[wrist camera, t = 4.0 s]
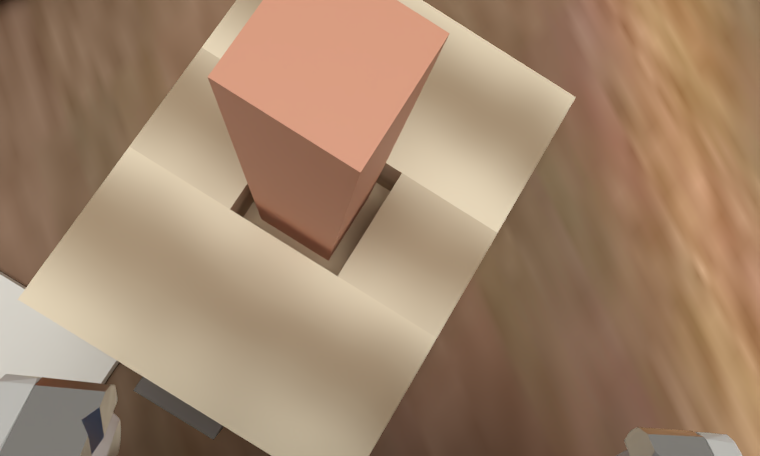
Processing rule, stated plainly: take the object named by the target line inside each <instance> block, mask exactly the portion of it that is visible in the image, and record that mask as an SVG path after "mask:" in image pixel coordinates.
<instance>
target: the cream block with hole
mask: <svg viewBox="0 0 760 456" xmlns="http://www.w3.org/2000/svg"><path fill="white" fill-rule="evenodd" d="M262 1H263V0H236V2H235V3H234V4H233V6H232V7H231V8H230V10H229V11H228V12H227V14H226V15H225V17H224V18H223V19H222V21H221V22H220V23H219V25H218V26H217V27H216V29H215V30H214V32H213V33H212V34H211V36H210V37H209V38H208V40H207V41H206V43H205V44H204V45H203V47H202V48H201V49H200V51H199V52H198V53H197V55H196V56H195V58H194V59H193V60H192V62H191V63H190V64H189V66H188V67H187V69H186V70H185V71H184V73H183V74H182V75H181V77H180V78H179V79H178V81H177V82H176V84H175V85H174V86H173V88H172V89H171V90H170V92H169V93H168V94H167V96H166V97H165V99H164V100H163V101H162V103H161V104H160V105H159V107H158V108H157V110H156V111H155V112H154V114H153V115H152V116H151V118H150V119H149V120H148V122H147V123H146V125H145V126H144V127H143V129H142V130H141V131H140V133H139V134H138V136H137V137H136V138H135V140H134V141H133V142H132V144H131V145H130V146H129V148H128V149H127V151H126V152H125V153H124V155H123V156H122V157H121V159H120V160H119V161H118V163H117V164H116V166H115V167H114V168H113V170H112V171H111V172H110V174H109V175H108V177H107V178H106V179H105V181H104V182H103V183H102V185H101V186H100V187H99V189H98V190H97V192H96V193H95V194H94V196H93V197H92V198H91V200H90V201H89V203H88V204H87V205H86V207H85V208H84V209H83V211H82V212H81V213H80V215H79V216H78V218H77V219H76V220H75V222H74V223H73V224H72V226H71V227H70V228H69V230H68V231H67V233H66V234H65V235H64V237H63V238H62V239H61V241H60V242H59V244H58V245H57V246H56V248H55V249H54V250H53V252H52V253H51V254H50V256H49V257H48V259H47V260H46V261H45V263H44V264H43V265H42V267H41V268H40V270H39V271H38V272H37V274H36V275H35V276H34V278H33V279H32V280H31V282H30V283H29V285H28V286H27V287H26V289H25V290H24V291H23V293H22V294H21V295H20V297H19V298H18V300H19V301H21V302H23V303H24V304H26V305H27V306H29V307H31V308H32V309H34V310H36V311H37V312H39V313H40V314H42V315H44V316H45V317H47V318H49V319H50V320H52V321H53V322H55V323H57V324H58V325H60V326H62V327H63V328H65V329H66V330H68V331H70V332H71V333H73V334H75V335H76V336H78V337H79V338H81V339H83V340H84V341H86V342H88V343H89V344H91V345H92V346H94V347H96V348H97V349H99V350H101V351H102V352H104V353H105V354H107V355H109V356H110V357H112V358H114V359H115V360H117V361H118V362H120V363H122V364H123V365H125V366H127V367H128V368H130V369H131V370H133V371H135V372H136V373H138V374H140V375H141V376H143V377H142V378H141V380H140V381H139V383H138V384H137V386H136V387H135V389H134V390H133V391H135V392H137V393H138V394H140V395H142V396H143V397H145V398H146V399H148V400H150V401H151V402H153V403H155V404H156V405H158V406H159V407H161V408H163V409H164V410H166V411H168V412H169V413H171V414H172V415H174V416H176V417H177V418H179V419H181V420H182V421H184V422H185V423H187V424H189V425H190V426H192V427H194V428H195V429H197V430H198V431H200V432H202V433H203V434H205V435H207V436H208V437H210V438H211V439H213V440H214V438H215V437H216V436H217V435H218V433H219V432H220V431H221V430H222V428H223V427H226V428H227V429H229V430H231V431H232V432H234V433H235V434H237V435H239V436H240V437H242V438H244V439H245V440H247V441H248V442H250V443H252V444H253V445H255V446H257V447H258V448H260V449H261V450H263V451H265V452H266V453H268V454H270V455H271V456H369V455H370V453H371V451H372V450H373V448H374V446H375V444H376V443H377V441H378V439H379V438H380V436H381V434H382V432H383V431H384V429H385V427H386V425H387V424H388V422H389V420H390V418H391V417H392V415H393V413H394V412H395V410H396V408H397V406H398V405H399V403H400V401H401V399H402V398H403V396H404V394H405V392H406V391H407V389H408V387H409V385H410V384H411V382H412V380H413V379H414V377H415V375H416V373H417V372H418V370H419V368H420V366H421V365H422V363H423V361H424V359H425V358H426V356H427V354H428V353H429V351H430V349H431V347H432V346H433V344H434V342H435V340H436V339H437V337H438V335H439V333H440V332H441V330H442V328H443V327H444V325H445V323H446V321H447V320H448V318H449V316H450V314H451V313H452V311H453V309H454V307H455V306H456V304H457V302H458V301H459V299H460V297H461V295H462V294H463V292H464V290H465V288H466V287H467V285H468V283H469V281H470V280H471V278H472V276H473V274H474V273H475V271H476V269H477V268H478V266H479V264H480V262H481V261H482V259H483V257H484V255H485V254H486V252H487V250H488V248H489V247H490V245H491V243H492V242H493V240H494V238H495V236H496V235H497V233H498V231H499V229H500V228H501V226H502V224H503V222H504V221H505V219H506V217H507V216H508V214H509V212H510V210H511V209H512V207H513V205H514V203H515V202H516V200H517V198H518V196H519V195H520V193H521V191H522V190H523V188H524V186H525V184H526V183H527V181H528V179H529V177H530V176H531V174H532V172H533V170H534V169H535V167H536V165H537V164H538V162H539V160H540V158H541V157H542V155H543V153H544V151H545V150H546V148H547V146H548V144H549V143H550V141H551V139H552V137H553V136H554V134H555V132H556V131H557V129H558V127H559V125H560V124H561V122H562V120H563V118H564V117H565V115H566V113H567V111H568V110H569V108H570V106H571V105H572V103H573V101H574V99H575V98H576V97H574V96H573V95H571V94H570V93H568V92H566V91H565V90H563V89H562V88H560V87H559V86H557V85H555V84H554V83H552V82H551V81H549V80H547V79H546V78H544V77H543V76H541V75H540V74H538V73H536V72H535V71H533V70H532V69H530V68H528V67H527V66H525V65H524V64H522V63H521V62H519V61H517V60H516V59H514V58H513V57H511V56H509V55H508V54H506V53H505V52H503V51H502V50H500V49H498V48H497V47H495V46H494V45H492V44H491V43H489V42H487V41H486V40H484V39H483V38H481V37H479V36H478V35H476V34H475V33H473V32H472V31H470V30H468V29H467V28H465V27H464V26H462V25H460V24H459V23H457V22H456V21H454V20H453V19H451V18H449V17H448V16H446V15H445V14H443V13H442V12H440V11H438V10H437V9H435V8H434V7H432V6H430V5H429V4H427V3H426V2H424V1H423V0H398V1H399V2H401V3H402V4H404V5H405V6H407V7H409V8H410V9H412V10H413V11H415V12H417V13H418V14H420V15H421V16H423V17H424V18H426V19H428V20H429V21H431V22H432V23H434V24H435V25H437V26H439V27H440V28H442V29H443V30H445V31H447V32H448V33H450V34H449V36H448V38H447V40H446V42H445V44H444V46H443V48H442V50H441V52H440V54H439V56H438V58H437V60H436V62H435V64H434V66H433V68H432V70H431V72H430V74H429V76H428V78H427V80H426V82H425V84H424V86H423V88H422V90H421V93H420V95H419V97H418V99H417V101H416V103H415V105H414V107H413V109H412V111H411V113H410V115H409V117H408V119H407V121H406V123H405V125H404V127H403V129H402V131H401V133H400V135H399V137H398V139H397V141H396V143H395V145H394V147H393V149H392V151H391V153H390V155H389V157H388V159H387V161H386V163H385V165H384V167H383V169H382V171H381V174H380V176H379V178H378V180H377V182H376V184H375V186H374V188H373V190H372V192H371V194H370V196H369V197H368V199H367V201H366V202H365V204H364V205H363V207H362V208H361V210H360V212H359V213H358V215H357V216H356V218H355V220H354V221H353V223H352V224H351V226H350V227H349V229H348V231H347V232H346V234H345V235H344V237H343V239H342V240H341V242H340V243H339V245H338V247H337V248H336V250H335V251H334V253H333V254H332V256H331V258H330V259H329V261H328V260H326V259H324V258H323V257H321V256H320V255H318V254H316V253H315V252H313V251H312V250H310V249H308V248H307V247H305V246H304V245H302V244H300V243H299V242H297V241H296V240H294V239H292V238H291V237H289V236H287V235H286V234H284V233H283V232H281V231H279V230H278V229H276V228H275V227H273V226H271V225H270V224H268V223H267V222H265V221H263V220H262V219H261V217H260V215H259V212H258V209H257V207H256V204H255V202H254V199H253V196H252V194H251V191H250V188H249V186H248V183H247V180H246V178H245V175H244V172H243V170H242V167H241V164H240V162H239V159H238V156H237V154H236V151H235V149H234V146H233V143H232V141H231V138H230V135H229V133H228V130H227V127H226V125H225V122H224V119H223V117H222V114H221V111H220V109H219V106H218V103H217V101H216V98H215V96H214V93H213V90H212V88H211V85H210V82H209V80H208V75H209V74H210V73H211V71H212V70H213V69H214V67H215V66H216V64H217V63H218V62H219V60H220V59H221V57H222V56H223V55H224V53H225V52H226V51H227V49H228V48H229V46H230V45H231V44H232V42H233V41H234V39H235V38H236V37H237V35H238V34H239V32H240V31H241V30H242V28H243V27H244V26H245V24H246V23H247V21H248V20H249V19H250V17H251V16H252V14H253V13H254V12H255V10H256V9H257V8H258V6H259V5H260V3H261V2H262Z"/></svg>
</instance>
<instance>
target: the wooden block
mask: <svg viewBox="0 0 760 456" xmlns="http://www.w3.org/2000/svg"><path fill="white" fill-rule="evenodd" d="M449 34H450V33H448V32H447V31H445V30H443V29H442V28H440V27H439V26H437V25H435V24H434V23H432V22H431V21H429V20H428V19H426V18H424V17H423V16H421V15H420V14H418V13H417V12H415V11H413V10H412V9H410V8H409V7H407V6H405V5H404V4H402V3H401V2H399V1H398V0H263V1H262V2H261V3H260V5H259V6H258V8H257V9H256V10H255V12H254V13H253V14H252V16H251V17H250V19H249V20H248V21H247V23H246V24H245V26H244V27H243V28H242V30H241V31H240V32H239V34H238V35H237V37H236V38H235V39H234V41H233V42H232V44H231V45H230V46H229V48H228V49H227V51H226V52H225V53H224V55H223V56H222V57H221V59H220V60H219V62H218V63H217V64H216V66H215V67H214V69H213V70H212V71H211V73H210V74H209V75H208V80H209V82H210V85H211V88H212V90H213V93H214V96H215V98H216V101H217V103H218V106H219V109H220V111H221V114H222V117H223V119H224V122H225V125H226V127H227V130H228V133H229V135H230V138H231V141H232V143H233V146H234V149H235V151H236V154H237V156H238V159H239V162H240V164H241V167H242V170H243V172H244V175H245V178H246V180H247V183H248V186H249V188H250V191H251V194H252V196H253V199H254V202H255V204H256V207H257V209H258V212H259V215H260V217H261V219H262V220H263V221H265V222H267V223H268V224H270V225H271V226H273V227H275V228H276V229H278V230H279V231H281V232H283V233H284V234H286V235H287V236H289V237H291V238H292V239H294V240H296V241H297V242H299V243H300V244H302V245H304V246H305V247H307V248H308V249H310V250H312V251H313V252H315V253H316V254H318V255H320V256H321V257H323V258H324V259H326V260H328V261H329V259H330V258H331V256H332V254H333V253H334V251H335V250H336V248H337V247H338V245H339V243H340V242H341V240H342V239H343V237H344V235H345V234H346V232H347V231H348V229H349V227H350V226H351V224H352V223H353V221H354V220H355V218H356V216H357V215H358V213H359V212H360V210H361V208H362V207H363V205H364V204H365V202H366V201H367V199H368V197H369V196H370V194H371V192H372V190H373V188H374V186H375V184H376V182H377V180H378V178H379V176H380V174H381V171H382V169H383V167H384V165H385V163H386V161H387V159H388V157H389V155H390V153H391V151H392V149H393V147H394V145H395V143H396V141H397V139H398V137H399V135H400V133H401V131H402V129H403V127H404V125H405V123H406V121H407V119H408V117H409V115H410V113H411V111H412V109H413V107H414V105H415V103H416V101H417V99H418V97H419V95H420V93H421V90H422V88H423V86H424V84H425V82H426V80H427V78H428V76H429V74H430V72H431V70H432V68H433V66H434V64H435V62H436V60H437V58H438V56H439V54H440V52H441V50H442V48H443V46H444V44H445V42H446V40H447V38H448V36H449Z"/></svg>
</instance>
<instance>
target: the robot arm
mask: <svg viewBox="0 0 760 456" xmlns="http://www.w3.org/2000/svg"><path fill="white" fill-rule="evenodd" d="M117 400H118V398H117V392H116V386H115V385H109V384H100V383H91V382H82V381H73V380H64V379H54V378H45V377H35V376H24V375H13V374H5V375H4V376H3V377H2V378H1V379H0V456H118V452H119V447H120V439H121V424H120V418H119V417H117V416H116V415H115V414H114V413H113V411H114V408H115V406H116V403H117ZM624 442H625V444H626V447H627V450H626V451H624V452H622V453H620V454H618V455H617V456H742V454H741V452H740V450H739V449H738V447H737V445H736V443H735V442H734V441H733V440H732V439H731V438H730V437H729V436H728V435H726V434H716V433H703V432H693V431H687V430H672V429H657V428H643V427H637V428H635V429H633V430H631V431H630V432H629V434H628V435H627V437H626V438H625V440H624Z"/></svg>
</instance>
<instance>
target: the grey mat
mask: <svg viewBox="0 0 760 456" xmlns="http://www.w3.org/2000/svg"><path fill="white" fill-rule="evenodd" d="M25 289H26V287H25V286H23V285H22V284H20V283H18V282H17V281H15V280H14V279H12V278H10V277H9V276H7V275H5V274H4V273H2V272H1V271H0V379H1V378H2V377H3V376H4V375H5V374H13V375H24V376H35V377H45V378H54V379H64V380H73V381H82V382H91V383H100V384H105V382H106V381H107V379H108V378H109V376H110V375H111V373H112V372H113V371H114V369H115V368H116V366H117V365H118V363H119V362H118V361H117V360H115V359H114V358H112V357H110V356H109V355H107V354H105V353H104V352H102V351H101V350H99V349H97V348H96V347H94V346H92V345H91V344H89V343H88V342H86V341H84V340H83V339H81V338H79V337H78V336H76V335H75V334H73V333H71V332H70V331H68V330H66V329H65V328H63V327H62V326H60V325H58V324H57V323H55V322H53V321H52V320H50V319H49V318H47V317H45V316H44V315H42V314H40V313H39V312H37V311H36V310H34V309H32V308H31V307H29V306H27V305H26V304H24V303H23V302H21V301H19V300H18V298H19V297H20V295H21V294H22V293H23V291H24V290H25Z"/></svg>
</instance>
